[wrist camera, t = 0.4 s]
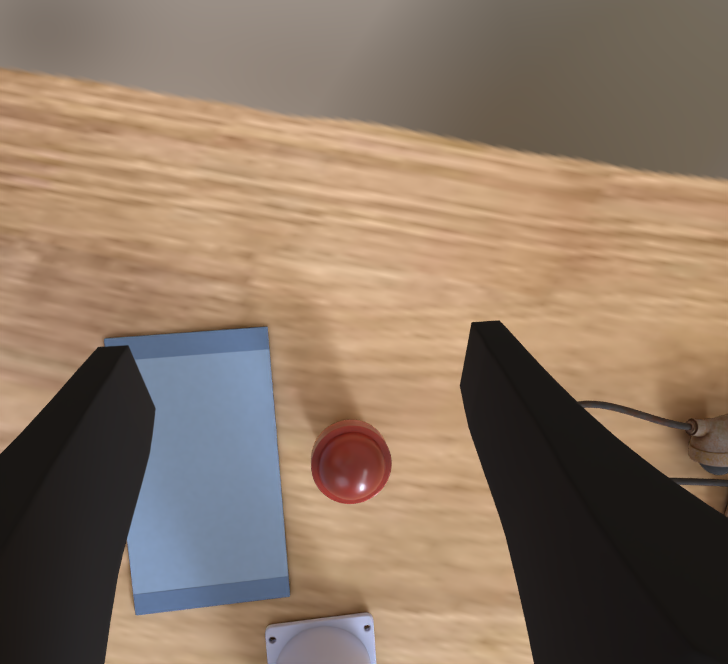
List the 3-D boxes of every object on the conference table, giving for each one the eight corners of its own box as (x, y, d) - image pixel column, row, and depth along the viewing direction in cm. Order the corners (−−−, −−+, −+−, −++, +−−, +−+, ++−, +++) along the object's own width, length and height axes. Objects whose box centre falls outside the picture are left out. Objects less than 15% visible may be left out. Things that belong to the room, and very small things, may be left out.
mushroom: (384, 474, 38) (399, 513, 32) (313, 481, 38) (314, 522, 31) (380, 405, 38) (394, 430, 31) (308, 412, 37) (307, 438, 31)
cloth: (290, 594, 39) (289, 596, 38) (137, 612, 38) (135, 615, 37) (267, 326, 37) (267, 326, 36) (105, 338, 36) (103, 338, 35)
